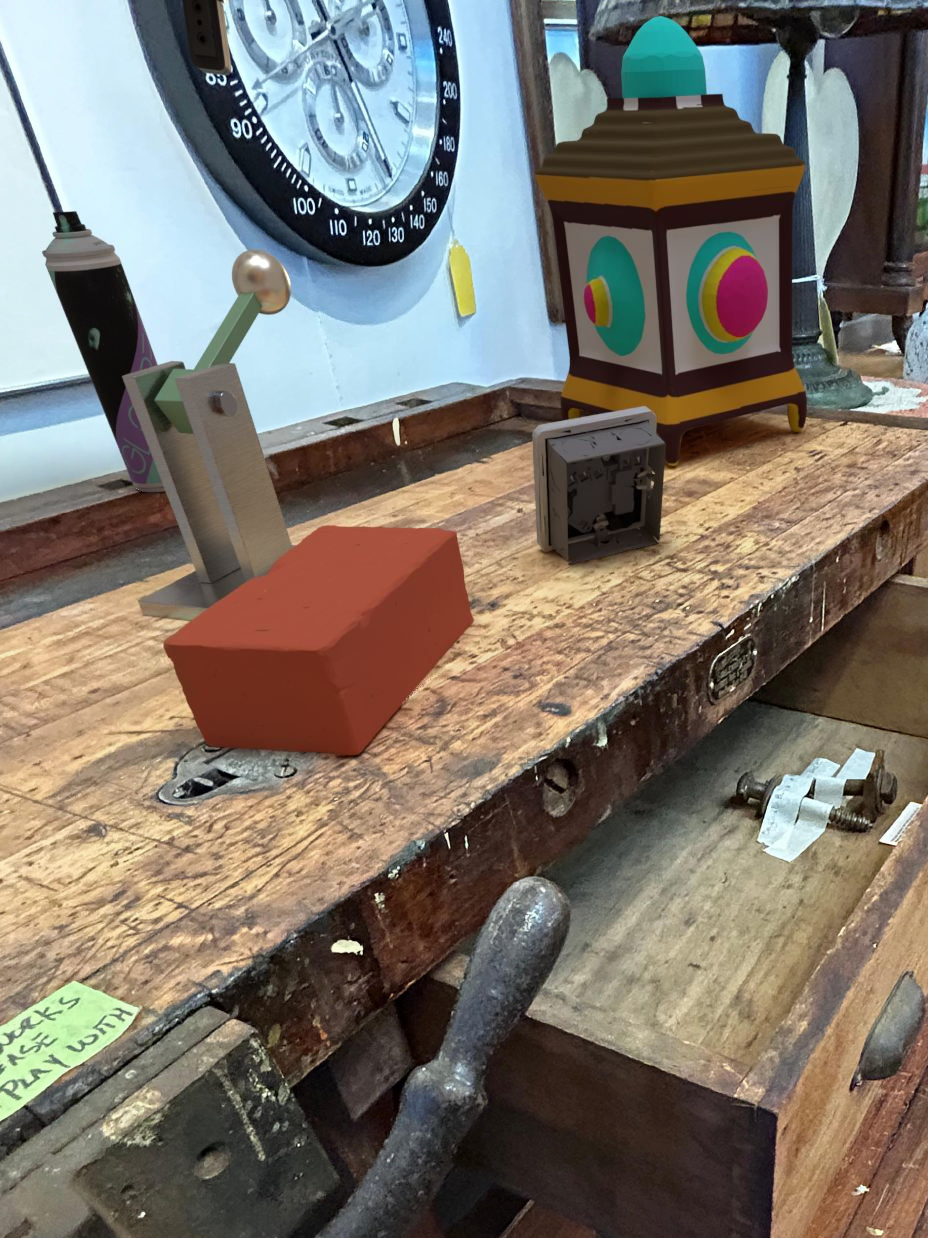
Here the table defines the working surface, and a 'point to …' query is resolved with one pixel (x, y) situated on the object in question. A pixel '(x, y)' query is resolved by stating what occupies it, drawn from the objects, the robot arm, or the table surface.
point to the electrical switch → (598, 483)
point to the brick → (324, 640)
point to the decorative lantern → (675, 250)
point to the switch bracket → (210, 486)
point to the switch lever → (233, 323)
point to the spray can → (104, 333)
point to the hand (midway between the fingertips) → (212, 71)
